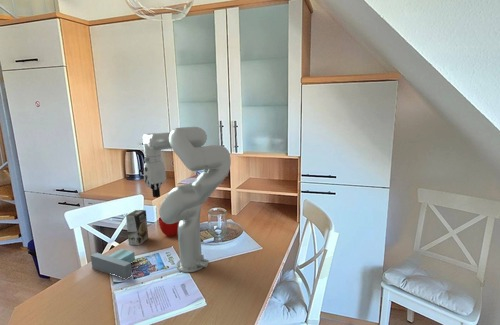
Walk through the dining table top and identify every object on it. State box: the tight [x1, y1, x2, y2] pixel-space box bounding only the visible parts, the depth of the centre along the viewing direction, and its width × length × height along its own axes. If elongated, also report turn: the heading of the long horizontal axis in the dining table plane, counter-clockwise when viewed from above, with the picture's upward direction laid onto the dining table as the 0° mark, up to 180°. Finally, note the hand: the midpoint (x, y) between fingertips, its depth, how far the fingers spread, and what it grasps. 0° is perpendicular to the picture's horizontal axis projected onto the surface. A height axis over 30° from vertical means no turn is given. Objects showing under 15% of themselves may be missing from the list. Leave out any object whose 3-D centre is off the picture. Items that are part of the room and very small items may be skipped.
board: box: [90, 252, 133, 280], centre depth 123 cm, size 22×3×6 cm, turn 62°
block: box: [108, 248, 136, 263], centre depth 130 cm, size 8×9×5 cm
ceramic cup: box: [158, 217, 179, 238], centre depth 160 cm, size 13×17×10 cm
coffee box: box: [125, 209, 149, 246], centre depth 153 cm, size 9×6×16 cm
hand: (156, 196), depth 139 cm, fingers closed
